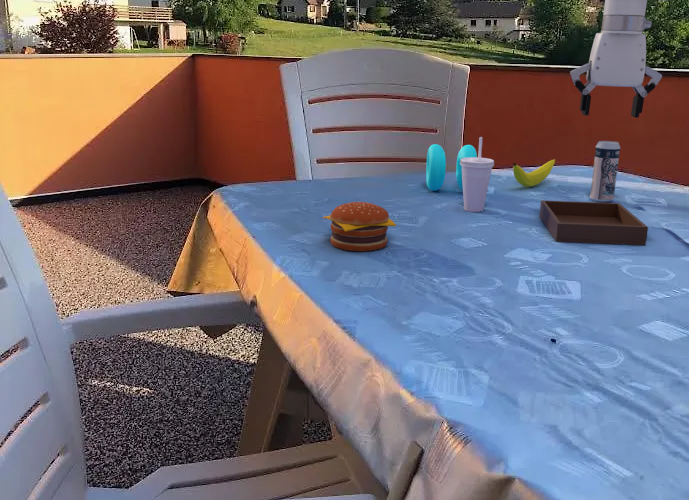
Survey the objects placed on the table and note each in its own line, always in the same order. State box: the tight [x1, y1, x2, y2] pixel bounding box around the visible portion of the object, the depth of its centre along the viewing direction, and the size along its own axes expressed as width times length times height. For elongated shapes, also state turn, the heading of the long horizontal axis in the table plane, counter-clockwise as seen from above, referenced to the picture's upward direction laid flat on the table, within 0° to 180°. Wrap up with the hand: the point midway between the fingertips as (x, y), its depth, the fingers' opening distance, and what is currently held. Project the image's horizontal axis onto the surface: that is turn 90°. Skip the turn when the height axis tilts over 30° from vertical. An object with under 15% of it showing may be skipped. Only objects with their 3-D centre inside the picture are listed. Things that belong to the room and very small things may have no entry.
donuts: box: [425, 143, 478, 192], centre depth 152 cm, size 10×10×10 cm
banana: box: [512, 158, 556, 188], centre depth 159 cm, size 3×19×6 cm, turn 137°
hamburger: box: [322, 201, 397, 252], centre depth 112 cm, size 9×10×7 cm
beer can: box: [589, 140, 621, 203], centre depth 145 cm, size 5×5×12 cm
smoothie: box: [460, 136, 495, 213], centre depth 135 cm, size 6×6×14 cm
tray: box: [539, 199, 649, 246], centre depth 123 cm, size 14×17×3 cm
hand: (609, 115), depth 142 cm, fingers open, 9 cm apart
